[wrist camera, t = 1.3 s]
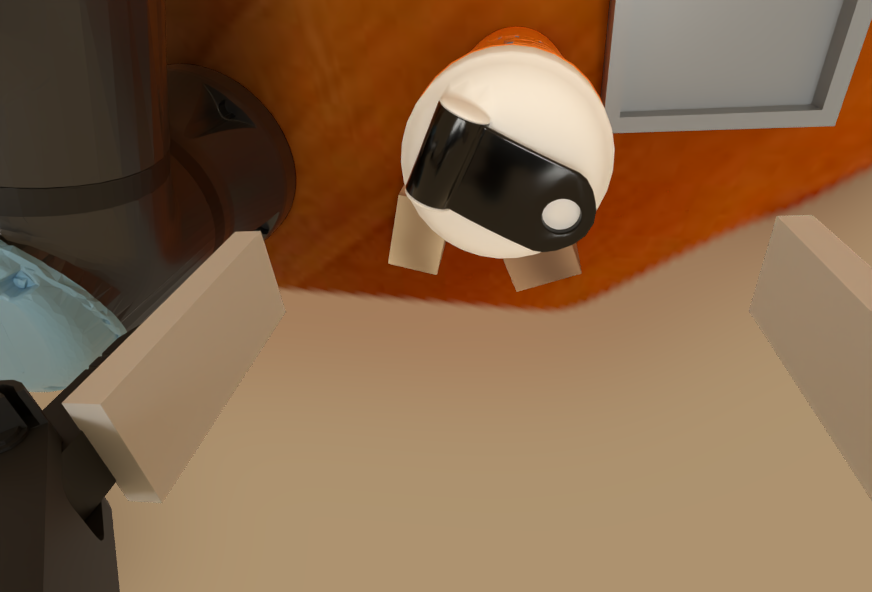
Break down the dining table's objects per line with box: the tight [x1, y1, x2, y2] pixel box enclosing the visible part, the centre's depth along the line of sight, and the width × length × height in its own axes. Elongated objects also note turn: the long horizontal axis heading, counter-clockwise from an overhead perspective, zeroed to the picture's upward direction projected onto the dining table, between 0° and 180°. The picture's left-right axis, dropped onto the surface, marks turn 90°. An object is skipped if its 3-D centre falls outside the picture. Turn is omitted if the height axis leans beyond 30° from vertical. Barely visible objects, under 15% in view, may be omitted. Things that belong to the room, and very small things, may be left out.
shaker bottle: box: [401, 26, 615, 258], centre depth 27 cm, size 9×9×20 cm
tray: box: [600, 0, 872, 133], centre depth 30 cm, size 14×14×2 cm
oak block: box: [388, 184, 446, 275], centre depth 41 cm, size 4×6×4 cm, turn 169°
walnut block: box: [503, 243, 581, 292], centre depth 39 cm, size 5×5×5 cm
